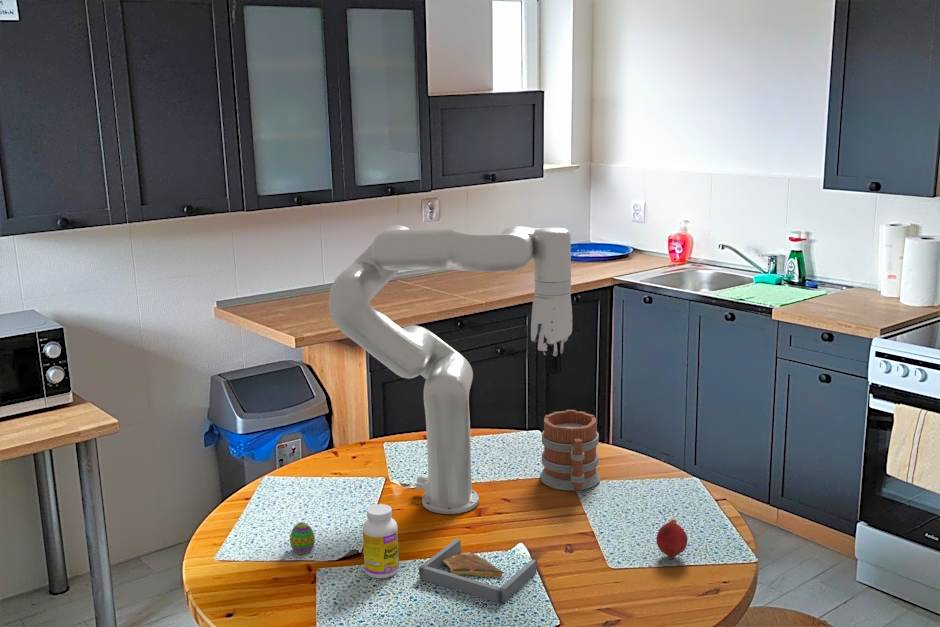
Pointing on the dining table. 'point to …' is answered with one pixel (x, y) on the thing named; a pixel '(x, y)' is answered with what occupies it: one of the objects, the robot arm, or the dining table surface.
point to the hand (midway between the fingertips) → (553, 372)
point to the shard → (471, 565)
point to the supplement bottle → (380, 542)
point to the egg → (302, 538)
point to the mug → (570, 451)
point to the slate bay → (470, 586)
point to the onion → (671, 539)
